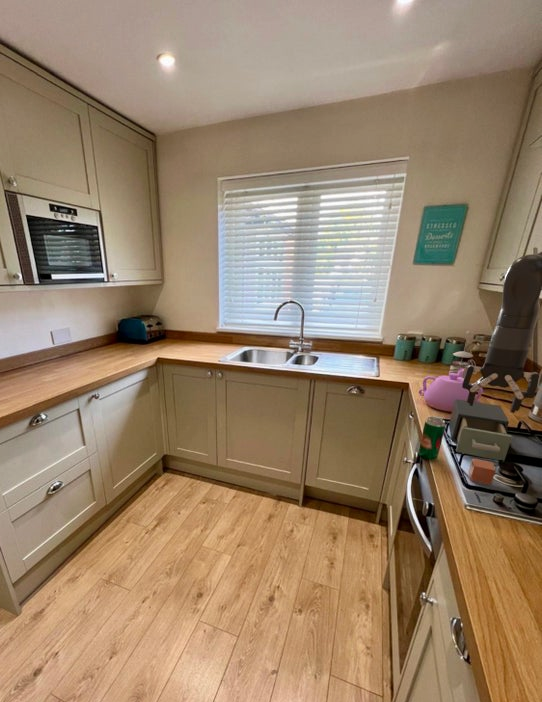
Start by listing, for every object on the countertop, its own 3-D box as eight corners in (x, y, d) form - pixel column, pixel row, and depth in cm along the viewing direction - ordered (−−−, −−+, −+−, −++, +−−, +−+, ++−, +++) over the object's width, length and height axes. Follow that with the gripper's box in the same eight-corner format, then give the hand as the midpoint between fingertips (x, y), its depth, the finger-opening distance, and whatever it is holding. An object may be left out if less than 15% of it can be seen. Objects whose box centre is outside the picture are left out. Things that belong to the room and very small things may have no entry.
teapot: (485, 404, 135) (495, 372, 130) (474, 420, 120) (484, 384, 115) (426, 392, 149) (432, 362, 144) (410, 405, 135) (416, 372, 130)
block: (488, 476, 88) (493, 462, 86) (490, 485, 84) (495, 470, 82) (468, 472, 90) (472, 458, 88) (470, 480, 86) (474, 466, 84)
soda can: (413, 453, 99) (421, 416, 95) (429, 452, 100) (438, 415, 96) (424, 461, 95) (433, 424, 90) (441, 460, 95) (451, 423, 91)
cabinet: (499, 450, 100) (509, 421, 97) (451, 441, 106) (458, 413, 103) (492, 431, 112) (500, 405, 109) (448, 424, 118) (455, 399, 115)
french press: (454, 378, 169) (467, 328, 160) (476, 385, 158) (491, 332, 149) (440, 380, 166) (451, 330, 157) (461, 387, 155) (475, 334, 147)
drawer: (507, 469, 89) (515, 443, 87) (457, 458, 95) (463, 434, 92) (496, 441, 104) (503, 418, 101) (453, 433, 109) (458, 412, 106)
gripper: (546, 346, 78) (525, 409, 84) (473, 340, 85) (458, 398, 91) (552, 351, 72) (528, 419, 78) (473, 345, 80) (457, 407, 85)
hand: (490, 408), depth 85 cm, fingers open, 8 cm apart
